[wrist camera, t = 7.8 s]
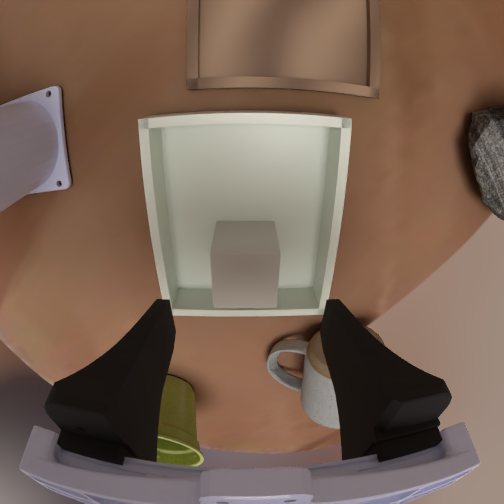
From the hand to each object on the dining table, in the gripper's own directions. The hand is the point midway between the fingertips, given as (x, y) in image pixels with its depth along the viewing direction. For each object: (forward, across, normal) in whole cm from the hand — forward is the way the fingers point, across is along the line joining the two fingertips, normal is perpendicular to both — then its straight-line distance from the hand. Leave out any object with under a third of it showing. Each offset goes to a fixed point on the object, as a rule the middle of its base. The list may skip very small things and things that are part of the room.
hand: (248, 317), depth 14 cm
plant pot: (+10, +9, +20) cm, 24 cm away
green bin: (+9, 0, -1) cm, 10 cm away
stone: (+9, 0, +1) cm, 9 cm away
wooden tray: (+9, -2, -17) cm, 19 cm away
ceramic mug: (+10, -8, +13) cm, 18 cm away
